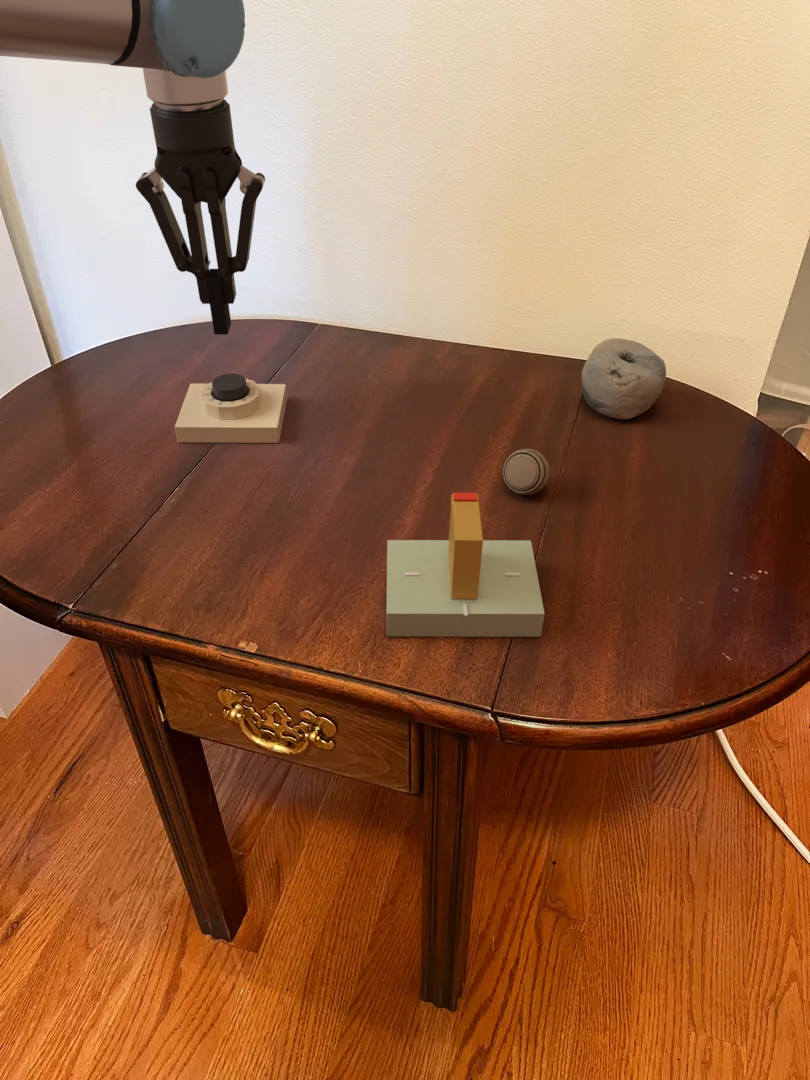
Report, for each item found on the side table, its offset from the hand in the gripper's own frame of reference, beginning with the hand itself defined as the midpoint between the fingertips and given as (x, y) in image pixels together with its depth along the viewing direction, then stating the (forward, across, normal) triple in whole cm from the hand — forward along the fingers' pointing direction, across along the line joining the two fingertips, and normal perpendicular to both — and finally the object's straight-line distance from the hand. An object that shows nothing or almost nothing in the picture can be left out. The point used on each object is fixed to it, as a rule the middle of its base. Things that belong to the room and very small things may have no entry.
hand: (222, 328), depth 95 cm
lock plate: (+12, -26, +31) cm, 42 cm away
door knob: (+12, -34, +14) cm, 39 cm away
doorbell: (+12, 0, 0) cm, 12 cm away
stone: (+13, -48, -4) cm, 50 cm away
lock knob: (+9, -26, +31) cm, 41 cm away
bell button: (+9, 0, 0) cm, 9 cm away
